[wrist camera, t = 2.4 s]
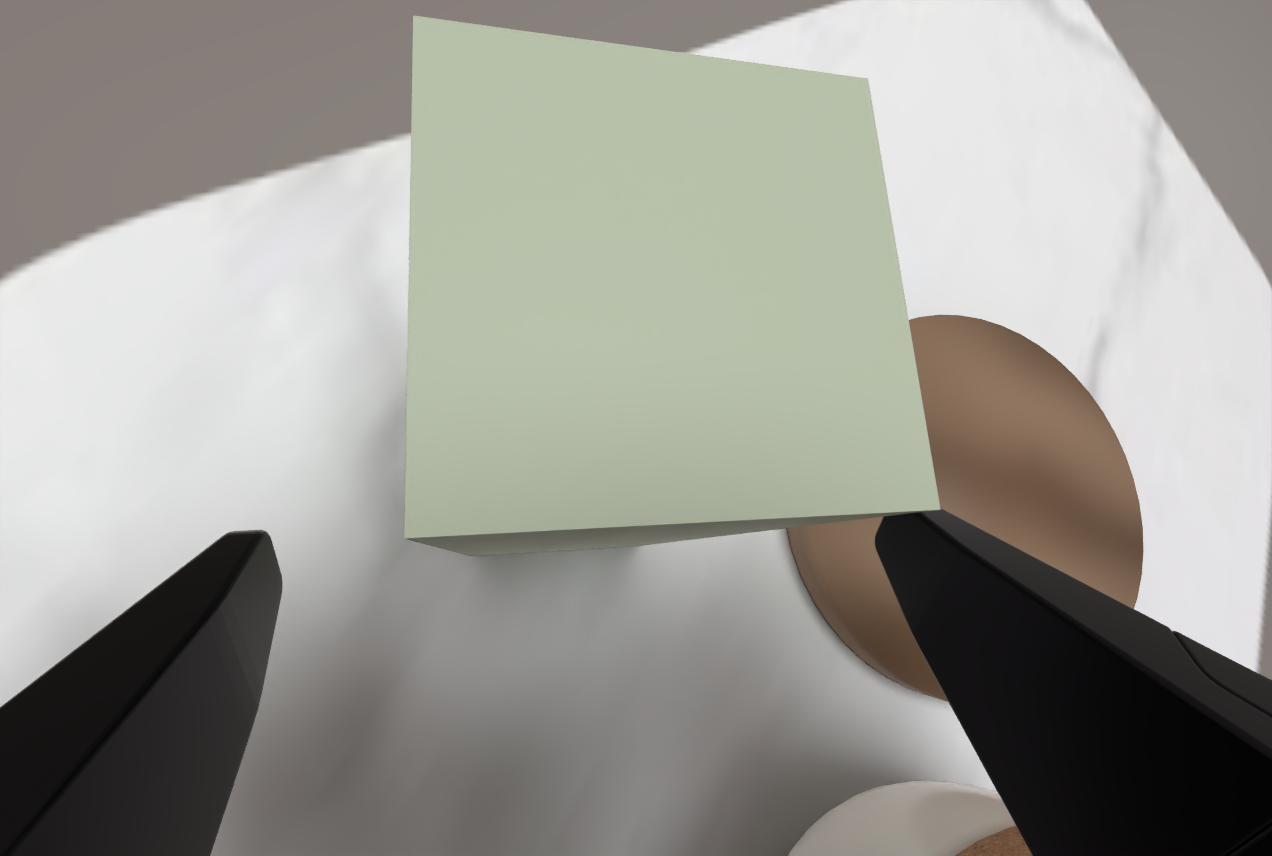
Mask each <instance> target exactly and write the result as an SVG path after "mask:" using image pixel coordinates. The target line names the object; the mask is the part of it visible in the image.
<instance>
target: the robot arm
mask: <svg viewBox="0 0 1272 856" xmlns="http://www.w3.org/2000/svg"><path fill="white" fill-rule="evenodd" d="M940 509H941V510H934V511H926V512H917V513H909V514H900V515H892V516H884V517H883V518H882V520H881V523H880V525H879V527H878V529H877V532H876V534H875V548H876V551H877V554H878V556H879V558H880V561H881V563H882V566H883V568H884V570H885V573H886V575H887V577H888V580H889V582H890V584H891V587H892V589H893V591H894V594H895V596H896V598H897V601H898V603H899V605H900V608H901V610H902V612H903V615H904V617H905V619H906V622H907V624H908V626H909V628H910V630H911V633H912V635H913V637H914V639H915V641H916V643H917V644H918V646H919V648H920V650H921V652H922V654H923V656H924V658H925V659H926V661H927V663H928V665H929V667H930V669H931V670H932V672H933V674H934V676H935V678H936V680H937V681H938V683H939V685H940V687H941V689H942V691H943V692H944V694H945V696H946V698H947V700H948V702H949V704H950V705H951V707H952V709H953V711H954V713H955V715H956V716H957V718H958V720H959V722H960V724H961V726H962V727H963V729H964V731H965V733H966V735H967V737H968V738H969V740H970V742H971V744H972V746H973V748H974V749H975V751H976V753H977V755H978V757H979V759H980V760H981V762H982V764H983V766H984V768H985V770H986V772H987V773H988V775H989V777H990V779H991V781H992V783H993V784H994V786H995V788H996V790H997V792H998V794H999V795H1000V797H1001V799H1002V801H1003V803H1004V805H1005V806H1006V808H1007V810H1008V812H1009V814H1010V816H1011V817H1012V819H1013V821H1014V823H1015V825H1016V827H1017V828H1018V830H1019V832H1020V834H1021V836H1022V838H1023V840H1024V841H1025V843H1026V845H1027V847H1028V849H1029V851H1030V852H1031V854H1032V856H1272V680H1270V679H1268V678H1266V677H1264V676H1262V675H1260V674H1258V673H1256V672H1254V671H1252V670H1250V669H1248V668H1246V667H1244V666H1242V665H1240V664H1238V663H1237V662H1235V661H1233V660H1231V659H1229V658H1227V657H1225V656H1223V655H1221V654H1219V653H1217V652H1215V651H1213V650H1211V649H1209V648H1207V647H1205V646H1203V645H1201V644H1200V643H1198V642H1196V641H1194V640H1192V639H1190V638H1188V637H1186V636H1184V635H1182V634H1181V633H1179V632H1176V631H1171V630H1170V628H1169V627H1167V626H1165V625H1163V624H1161V623H1159V622H1157V621H1155V620H1154V619H1152V618H1150V617H1148V616H1146V615H1144V614H1142V613H1140V612H1138V611H1136V610H1134V609H1133V608H1131V607H1129V606H1127V605H1125V604H1123V603H1121V602H1119V601H1117V600H1115V599H1113V598H1112V597H1110V596H1108V595H1106V594H1104V593H1102V592H1100V591H1098V590H1096V589H1094V588H1092V587H1091V586H1089V585H1087V584H1085V583H1083V582H1081V581H1079V580H1077V579H1075V578H1073V577H1071V576H1070V575H1068V574H1066V573H1064V572H1062V571H1060V570H1058V569H1056V568H1054V567H1052V566H1051V565H1049V564H1047V563H1045V562H1043V561H1041V560H1039V559H1037V558H1035V557H1033V556H1031V555H1030V554H1028V553H1026V552H1024V551H1022V550H1020V549H1018V548H1016V547H1014V546H1012V545H1010V544H1009V543H1007V542H1005V541H1003V540H1001V539H999V538H997V537H995V536H993V535H991V534H989V533H988V532H986V531H984V530H982V529H980V528H978V527H976V526H974V525H972V524H970V523H968V522H967V521H965V520H963V519H961V518H959V517H957V516H955V515H953V514H951V513H949V512H947V511H946V510H944V509H942V508H940ZM281 595H282V575H281V572H280V568H279V565H278V561H277V558H276V554H275V551H274V547H273V544H272V540H271V538H270V536H269V534H268V533H267V532H266V531H263V530H248V531H233V532H229V533H227V534H225V535H224V536H222V537H221V538H219V539H218V540H217V541H216V542H214V543H213V544H212V545H210V546H209V547H208V548H206V549H205V550H204V551H203V552H201V553H200V554H199V555H197V556H196V557H195V558H193V559H192V560H191V561H190V562H188V563H187V564H186V565H184V566H183V567H182V568H180V569H179V570H178V571H177V572H175V573H174V574H173V575H171V576H170V577H169V578H168V579H166V580H165V581H164V582H162V583H161V584H160V585H158V586H157V587H156V588H155V589H153V590H152V591H151V592H149V593H148V594H147V595H145V596H144V597H143V598H142V599H140V600H139V601H138V602H136V603H135V604H134V605H132V606H131V607H130V608H129V609H127V610H126V611H125V612H123V613H122V614H121V615H119V616H118V617H117V618H116V619H114V620H113V621H112V622H110V623H109V624H108V625H106V626H105V627H104V628H103V629H101V630H100V631H99V632H97V633H96V634H95V635H93V636H92V637H91V638H90V639H88V640H87V641H86V642H84V643H83V644H82V645H80V646H79V647H78V648H77V649H75V650H74V651H73V652H71V653H70V654H69V655H68V656H66V657H65V658H64V659H62V660H61V661H60V662H58V663H57V664H56V665H55V666H53V667H52V668H51V669H49V670H48V671H47V672H45V673H44V674H43V675H42V676H40V677H39V678H38V679H36V680H35V681H34V682H32V683H31V684H30V685H29V686H27V687H26V688H25V689H23V690H22V691H21V692H19V693H18V694H17V695H16V696H14V697H13V698H12V699H10V700H9V701H8V702H6V703H5V704H4V705H3V706H1V707H0V856H210V854H211V851H212V848H213V845H214V842H215V839H216V836H217V833H218V830H219V827H220V824H221V821H222V818H223V815H224V812H225V809H226V806H227V803H228V800H229V797H230V794H231V791H232V788H233V785H234V782H235V779H236V776H237V773H238V770H239V767H240V764H241V761H242V758H243V754H244V751H245V748H246V745H247V742H248V739H249V736H250V733H251V730H252V727H253V724H254V720H255V717H256V714H257V710H258V706H259V702H260V698H261V693H262V689H263V684H264V679H265V674H266V669H267V664H268V659H269V654H270V649H271V644H272V639H273V634H274V629H275V625H276V620H277V615H278V610H279V605H280V600H281Z"/></svg>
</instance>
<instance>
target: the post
mask: <svg viewBox="0 0 1272 856" xmlns="http://www.w3.org/2000/svg"><path fill="white" fill-rule="evenodd" d="M412 68H413V69H412V124H411V178H410V235H409V292H408V349H407V405H406V462H405V518H404V538H405V539H408V540H412V541H416V542H420V543H423V544H427V545H431V546H435V547H439V548H442V549H446V550H450V551H454V552H458V553H461V554H465V555H469V556H481V555H497V554H514V553H530V552H546V551H562V550H579V549H595V548H611V547H627V546H642V545H650V544H658V543H667V542H675V541H684V540H692V539H700V538H709V537H717V536H725V535H734V534H742V533H750V532H759V531H767V530H775V529H784V528H792V527H800V526H809V525H817V524H825V523H834V522H842V521H850V520H859V519H867V518H875V517H884V516H892V515H900V514H909V513H917V512H926V511H934V510H941V509H940V503H939V497H938V491H937V485H936V479H935V474H934V468H933V462H932V456H931V450H930V444H929V438H928V432H927V426H926V420H925V414H924V408H923V403H922V397H921V391H920V385H919V379H918V373H917V367H916V361H915V355H914V349H913V343H912V337H911V331H910V326H909V320H908V314H907V308H906V302H905V296H904V290H903V284H902V278H901V272H900V266H899V260H898V254H897V249H896V243H895V237H894V231H893V225H892V219H891V213H890V207H889V201H888V195H887V189H886V183H885V177H884V172H883V166H882V160H881V154H880V148H879V142H878V136H877V130H876V124H875V118H874V112H873V106H872V100H871V95H870V89H869V83H868V79H866V78H859V77H852V76H844V75H837V74H830V73H823V72H816V71H808V70H801V69H794V68H787V67H780V66H772V65H765V64H758V63H751V62H744V61H736V60H729V59H722V58H715V57H708V56H700V55H693V54H686V53H679V52H671V51H664V50H656V49H650V48H643V47H635V46H628V45H621V44H614V43H607V42H599V41H592V40H585V39H578V38H571V37H563V36H556V35H549V34H542V33H535V32H527V31H520V30H512V29H506V28H499V27H491V26H484V25H477V24H469V23H463V22H455V21H448V20H441V19H434V18H427V17H419V16H413V65H412Z"/></svg>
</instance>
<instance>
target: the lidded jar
mask: <svg viewBox="0 0 1272 856" xmlns="http://www.w3.org/2000/svg"><path fill="white" fill-rule="evenodd" d="M788 856H1032V854H1031V852H1030V851H1029V849H1028V847H1027V845H1026V843H1025V841H1024V840H1023V838H1022V836H1021V834H1020V832H1019V830H1018V828H1017V827H1016V825H1015V823H1014V821H1013V819H1012V817H1011V816H1010V814H1009V812H1008V810H1007V808H1006V806H1005V805H1004V803H1003V801H1002V799H1001V797H1000V795H999V794H998V792H997V791H994V790H989V789H985V788H981V787H977V786H973V785H967V784H960V783H952V782H945V781H920V780H918V781H911V782H903V783H897V784H891V785H885V786H878V787H876V788H873V789H870V790H868V791H865V792H862V793H860V794H857V795H855V796H853V797H851V798H850V799H848V800H846V801H845V802H843V803H841V804H840V805H838V806H837V807H835V808H833V809H832V810H830V811H828V812H827V813H826V814H825V815H823V816H822V817H821V818H820V819H819V820H818V821H817V822H815V823H814V824H813V825H812V826H811V827H810V828H809V829H808V830H807V831H806V832H805V833H804V835H803V836H802V837H801V838H800V839H799V841H798V842H797V843H796V844H795V845H794V847H793V848H792V849H791V851H790V853H789V854H788Z"/></svg>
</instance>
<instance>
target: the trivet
mask: <svg viewBox="0 0 1272 856" xmlns="http://www.w3.org/2000/svg"><path fill="white" fill-rule="evenodd" d="M909 326H910V331H911V337H912V343H913V349H914V355H915V361H916V367H917V373H918V379H919V385H920V391H921V397H922V403H923V408H924V414H925V420H926V426H927V432H928V438H929V444H930V450H931V456H932V462H933V468H934V474H935V479H936V485H937V491H938V497H939V503H940V508H942V509H944V510H946V511H947V512H949V513H951V514H953V515H955V516H957V517H959V518H961V519H963V520H965V521H967V522H968V523H970V524H972V525H974V526H976V527H978V528H980V529H982V530H984V531H986V532H988V533H989V534H991V535H993V536H995V537H997V538H999V539H1001V540H1003V541H1005V542H1007V543H1009V544H1010V545H1012V546H1014V547H1016V548H1018V549H1020V550H1022V551H1024V552H1026V553H1028V554H1030V555H1031V556H1033V557H1035V558H1037V559H1039V560H1041V561H1043V562H1045V563H1047V564H1049V565H1051V566H1052V567H1054V568H1056V569H1058V570H1060V571H1062V572H1064V573H1066V574H1068V575H1070V576H1071V577H1073V578H1075V579H1077V580H1079V581H1081V582H1083V583H1085V584H1087V585H1089V586H1091V587H1092V588H1094V589H1096V590H1098V591H1100V592H1102V593H1104V594H1106V595H1108V596H1110V597H1112V598H1113V599H1115V600H1117V601H1119V602H1121V603H1123V604H1125V605H1127V606H1129V607H1131V608H1133V609H1134V606H1135V603H1136V600H1137V596H1138V591H1139V586H1140V580H1141V575H1142V562H1143V527H1142V520H1141V512H1140V505H1139V500H1138V496H1137V492H1136V487H1135V483H1134V479H1133V476H1132V473H1131V470H1130V467H1129V465H1128V462H1127V459H1126V456H1125V454H1124V451H1123V449H1122V447H1121V445H1120V443H1119V440H1118V438H1117V436H1116V434H1115V432H1114V430H1113V429H1112V427H1111V425H1110V423H1109V422H1108V420H1107V418H1106V416H1105V415H1104V413H1103V411H1102V410H1101V409H1100V407H1099V406H1098V404H1097V403H1096V402H1095V400H1094V399H1093V397H1092V396H1091V394H1090V393H1089V392H1088V391H1087V390H1086V388H1085V387H1084V386H1083V385H1082V384H1081V383H1080V382H1079V380H1078V379H1077V378H1076V377H1075V376H1074V375H1073V374H1072V373H1071V372H1070V371H1069V370H1068V369H1067V368H1066V367H1065V366H1064V365H1063V364H1062V363H1061V362H1059V361H1058V360H1057V359H1056V358H1055V357H1053V356H1052V355H1051V354H1050V353H1048V352H1047V351H1046V350H1044V349H1043V348H1042V347H1040V346H1039V345H1037V344H1036V343H1034V342H1032V341H1031V340H1029V339H1027V338H1026V337H1024V336H1022V335H1021V334H1019V333H1016V332H1014V331H1012V330H1010V329H1008V328H1005V327H1003V326H1001V325H998V324H995V323H991V322H988V321H985V320H982V319H977V318H971V317H966V316H959V315H935V316H926V317H919V318H915V319H911V320H909ZM882 518H883V517H875V518H867V519H859V520H850V521H842V522H834V523H825V524H817V525H809V526H800V527H792V528H787V532H788V537H789V541H790V545H791V549H792V553H793V555H794V558H795V561H796V564H797V566H798V569H799V572H800V575H801V577H802V579H803V581H804V583H805V585H806V587H807V589H808V591H809V593H810V595H811V597H812V599H813V601H814V603H815V604H816V606H817V607H818V609H819V610H820V612H821V613H822V615H823V616H824V618H825V619H826V621H827V623H828V624H829V625H830V626H831V628H832V629H833V630H834V631H835V632H836V633H837V635H838V636H839V637H840V638H841V639H842V641H843V642H844V643H845V644H846V645H847V646H848V647H849V648H850V649H851V650H852V651H853V652H855V653H856V654H857V655H858V656H859V657H860V658H861V659H862V660H863V661H864V662H865V663H867V664H868V665H870V666H871V667H873V668H874V669H875V670H877V671H878V672H880V673H881V674H883V675H884V676H885V677H887V678H889V679H891V680H893V681H895V682H897V683H899V684H901V685H903V686H905V687H906V688H909V689H912V690H915V691H917V692H920V693H923V694H926V695H929V696H932V697H935V698H939V699H942V700H945V701H948V700H947V698H946V696H945V694H944V692H943V691H942V689H941V687H940V685H939V683H938V681H937V680H936V678H935V676H934V674H933V672H932V670H931V669H930V667H929V665H928V663H927V661H926V659H925V658H924V656H923V654H922V652H921V650H920V648H919V646H918V644H917V643H916V641H915V639H914V637H913V635H912V633H911V630H910V628H909V626H908V624H907V622H906V619H905V617H904V615H903V612H902V610H901V608H900V605H899V603H898V601H897V598H896V596H895V594H894V591H893V589H892V587H891V584H890V582H889V580H888V577H887V575H886V573H885V570H884V568H883V566H882V563H881V561H880V558H879V556H878V554H877V551H876V548H875V534H876V532H877V529H878V527H879V525H880V523H881V520H882Z"/></svg>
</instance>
